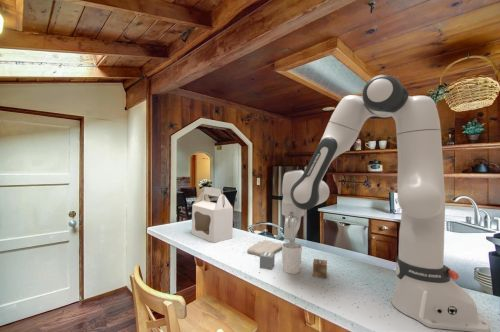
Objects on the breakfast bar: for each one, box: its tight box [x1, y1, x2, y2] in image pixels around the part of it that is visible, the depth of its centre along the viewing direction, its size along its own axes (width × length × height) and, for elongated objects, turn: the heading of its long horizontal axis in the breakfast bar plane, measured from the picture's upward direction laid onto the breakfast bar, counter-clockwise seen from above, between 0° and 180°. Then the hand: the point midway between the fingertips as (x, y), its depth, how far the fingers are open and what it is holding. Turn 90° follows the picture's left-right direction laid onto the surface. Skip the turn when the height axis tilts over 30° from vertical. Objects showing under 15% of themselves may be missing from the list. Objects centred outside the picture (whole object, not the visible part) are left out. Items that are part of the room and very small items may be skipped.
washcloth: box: [246, 239, 283, 257], centre depth 120 cm, size 12×18×3 cm, turn 148°
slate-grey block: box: [259, 252, 276, 271], centre depth 101 cm, size 5×5×5 cm
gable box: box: [191, 186, 234, 244], centre depth 141 cm, size 22×13×28 cm, turn 44°
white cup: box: [281, 241, 303, 275], centre depth 98 cm, size 8×8×10 cm
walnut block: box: [312, 258, 328, 279], centre depth 95 cm, size 5×5×5 cm
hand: (292, 244), depth 98 cm, fingers closed
